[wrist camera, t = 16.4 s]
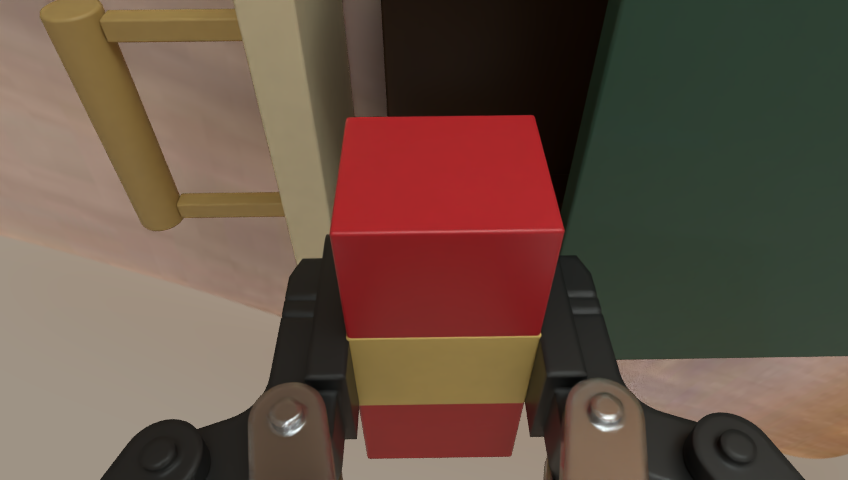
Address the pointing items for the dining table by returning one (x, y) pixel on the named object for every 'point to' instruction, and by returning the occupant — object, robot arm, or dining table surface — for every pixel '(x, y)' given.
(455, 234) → the red yellow striped block
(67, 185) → the dining table surface
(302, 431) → the robot arm
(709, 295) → the cabinet
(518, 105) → the drawer
